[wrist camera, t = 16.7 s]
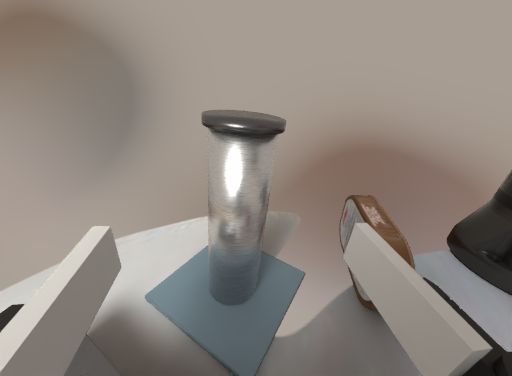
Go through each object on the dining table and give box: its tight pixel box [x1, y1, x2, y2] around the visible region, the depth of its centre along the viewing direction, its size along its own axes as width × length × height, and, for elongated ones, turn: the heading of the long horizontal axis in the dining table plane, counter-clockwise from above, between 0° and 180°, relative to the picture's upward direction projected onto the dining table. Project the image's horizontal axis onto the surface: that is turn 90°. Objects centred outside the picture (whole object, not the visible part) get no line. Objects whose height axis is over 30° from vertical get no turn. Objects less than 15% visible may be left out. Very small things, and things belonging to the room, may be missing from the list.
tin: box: [340, 195, 415, 310], centre depth 25 cm, size 15×3×8 cm, turn 171°
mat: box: [145, 245, 305, 376], centre depth 22 cm, size 12×12×1 cm
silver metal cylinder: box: [202, 110, 286, 306], centre depth 18 cm, size 6×6×17 cm
